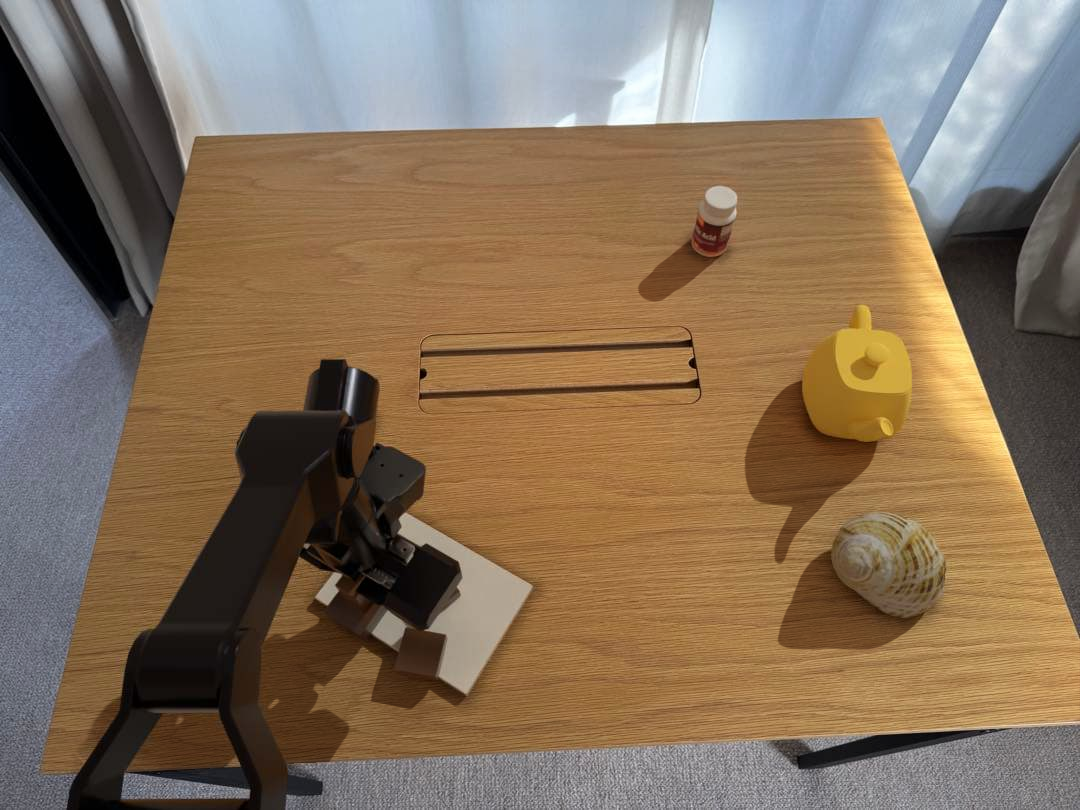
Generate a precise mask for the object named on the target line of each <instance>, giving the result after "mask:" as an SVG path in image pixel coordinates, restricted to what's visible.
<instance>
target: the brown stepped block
mask: <svg viewBox="0 0 1080 810" xmlns="http://www.w3.org/2000/svg"><path fill="white" fill-rule="evenodd" d="M396 535H398V536H400V537H402V538H403V539H405V540H407V541H409V542H410V543H412V544H414V545H415V546H417V547H418V548H419V547H421V546H419V545H417V544H415V543H414V542H412V541H410V540H409V539H407V538H405V537H403V536H402V535H400V534H398V533H397V534H396ZM388 537H390V536H388ZM365 577H366V576H365V575H363V574H362V573H361V574H360V576H359V577H358V578H357V580H356V581H355V582H353V581H351V580H350V579H348V578H346V577H345V576H343V575H342V576H341V578H340V579H339V580H338V582H337V583H336V584H335V586H336V588H337V589H338V593H337V594H336V595H335V597H334V598H333V599H332V601H331V602H330V603H329V605H328V606H327V607H326V606H325V609H324V610H323V611H322V613H323V614H324V615H325V617H326V618H328V620H330V622H331V623H332V624H334V625H335V626H337V627H338V628H340V629H342V630H343V631H345V632H346V633H348V634H349V635H351V636H353V637H354V638H356V639H357V640H358V641H360V642H361V643H363V644H365V643H366V642H367V641H368V639H370V637H371V636H372V635H371V633H372V632H373V630H374V629H375V628H376V626H377V625H378V623H379V622H380V621H381V619H382V618H383V616H384V615H385V613H386V612H387V611H388V610H387V609H386V608H385V607H384V605H383V606H379V605H376V604H375V603H373V602H372V601H370V600H368V599H367V598H365V597H364V596H362V595H360V594H359V593H357V592H356V591H355V590H356V589H357V588H358V586H359V585H360V583H361V582H362V581H363V579H364V578H365Z"/></svg>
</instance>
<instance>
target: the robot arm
mask: <svg viewBox="0 0 1080 810" xmlns="http://www.w3.org/2000/svg"><path fill="white" fill-rule="evenodd" d="M380 385H381V383H380V381H379V379H378V378H376V377H374V376H373V375H372V374H370V373H369V372H367V371H364V370H363V369H361V368H357V367H353V366H350V365H349V364H348V362H347V358H321V359H320V361H319V367H318V368H317V369H315V370H314V371H312V372H311V373H310V375H309V376H308V381H307V385H306V392H305V398H304V402H303V409H301V410H299V409H298V410H296V409H295V410H258V411H256V412H255V413H254V414H253V415H252V416H251V417H250V419H249V421H248V422H247V424H246V426H245V427H244V428H243V429H242V431H241V433H240V434H239V438H238V439H237V441H236V445H235V450H234V457H235V460H236V465H237V468H238V473H239V477H240V481H239V483H238V486H237V488H236V490H235V492H234V493H233V496H232V497H231V499H230V501H229V503H228V504H227V506H226V508H225V509H224V511H223V513H222V514H221V516H220V517H219V519H218V521H217V523H216V524H215V526H214V528H213V529H212V532H210V535H209V536H208V538H207V540H206V541H205V543H204V545H203V546H202V548H201V550H200V551H199V553H198V555H197V556H196V558H195V560H194V561H193V563H192V565H191V567H190V569H188V572H187V573H186V576H185V577H184V579H183V580H182V582H181V584H180V585H179V588H178V589H177V590H176V593H175V594H174V596H173V597H172V599H171V601H170V603H169V604H168V606H167V608H166V610H165V611H164V613H163V614H162V616H161V618H160V620H159V621H158V623H157V625H155V627H154V628H147V629H145V630H142V631H141V632H140V633H139V634H138V636H137V637H136V638H135V639H134V640H133V642H132V645H131V647H130V649H129V652H128V653H127V657H126V662H125V667H124V672H123V678H122V679H123V680H122V685H121V695H120V703H119V710H118V713H117V714H116V716H115V717H114V718H113V720H112V722H111V723H110V724H109V726H108V728H107V729H106V731H104V733H103V735H102V737H101V738H100V739H99V740H98V743H96V746H95V747H94V749H93V750H92V752H91V753H90V755H89V756H88V757H87V759H86V760H85V762H84V763H83V765H82V767H81V768H80V769H79V771H78V772H77V773H76V775H75V777H74V779H73V780H72V783H71V784H70V788H69V789H68V795H67V804H66V809H65V810H286V809H287V795H288V780H289V771H288V766H287V765H288V764H287V762H286V759H285V758H284V755H283V753H282V752H281V749H280V746H279V745H278V742H277V741H276V738H275V736H274V734H273V732H272V729H271V727H270V725H269V723H268V721H267V718H266V717H265V714H264V712H263V710H262V708H261V705H260V702H259V699H260V689H261V688H260V687H261V676H262V664H263V662H262V661H263V660H262V659H263V648H262V647H263V645H264V644H265V640H266V638H267V636H268V633H269V630H270V628H271V626H272V624H273V622H274V619H275V616H276V614H277V611H278V609H279V607H280V605H281V602H282V600H283V597H284V595H285V592H286V590H287V587H288V585H289V583H290V580H291V578H292V575H293V572H294V570H295V568H296V566H297V563H298V561H299V558H301V559H302V560H304V561H305V562H306V563H309V564H310V565H312V566H313V567H315V568H317V569H318V570H320V571H325V572H331V573H334V572H336V573H340V574H342V575H343V576H345V577H346V578H348V579H350V580H351V581H353V582H355V581H356V580H357V578H358V577H359V576H360V574H361V573H362V574H363V575H365V576H366V577H365V578H364V579H363V581H362V582H361V583H360V585H359V586H358V588H357V589H356V590H355V591H356V592H357V593H359V594H360V595H362V596H364V597H365V598H367V599H368V600H370V601H372V602H373V603H375V604H376V605H379V606H383V605H384V607H385V608H386V609H387V610H388V611H389V612H391V613H392V614H393V615H394V616H396V617H397V618H399V619H401V620H402V621H404V622H405V623H407V624H409V625H410V626H412V627H414V628H415V629H417V630H418V631H423V630H426V629H429V628H430V627H431V625H432V624H433V622H434V621H435V619H436V618H437V616H438V614H439V613H440V611H441V610H442V608H443V607H444V605H445V604H446V602H447V601H448V599H449V598H450V596H451V595H452V593H453V592H454V590H455V589H456V587H457V586H458V584H459V583H460V581H461V580H462V578H463V577H462V573H461V568H460V564H459V562H458V561H456V560H455V559H453V558H451V557H450V556H448V555H446V554H444V553H443V552H441V551H439V550H437V549H436V548H434V547H432V546H431V545H429V544H427V543H426V544H424V545H423V546H421V547H419V548H418V547H417V546H415V545H414V544H412V543H410V542H409V541H407V540H405V539H403V538H402V537H400V536H398V535H396V534H397V533H398V531H399V530H400V529H401V527H402V526H401V523H400V521H399V518H400V517H401V516H402V515H403V514H404V513H407V511H408V510H410V509H411V507H412V506H413V505H414V504H415V503H417V501H419V500H420V499H422V498H423V496H424V491H425V481H426V472H427V467H426V465H425V464H424V463H423V462H421V461H420V460H417V459H416V458H414V457H412V456H411V455H409V454H407V453H405V452H403V451H401V450H400V449H398V448H396V447H393V446H385V445H383V444H381V443H379V442H376V443H375V437H376V429H377V428H376V427H377V413H378V405H379V398H380V397H379V396H380V389H381V387H380ZM388 536H390V537H388ZM187 713H188V714H195V713H196V714H197V713H198V714H199V713H202V714H203V713H207V714H208V713H218V716H219V720H220V722H221V724H222V727H223V729H224V731H225V733H226V735H227V738H228V740H229V743H230V745H231V747H232V750H233V751H234V755H235V756H236V758H237V761H238V763H239V765H240V767H241V770H242V772H243V774H244V777H245V778H246V782H247V783H248V786H249V797H231V798H230V797H224V798H223V797H222V798H221V797H220V798H216V797H215V798H213V797H212V798H210V797H209V798H208V797H207V798H122V796H123V795H122V794H123V788H124V787H123V786H124V779H125V773H126V772H127V770H128V768H129V767H130V766H131V764H132V762H133V760H134V759H135V757H136V756H137V754H138V753H139V751H140V750H141V748H142V747H143V745H144V744H145V742H146V740H147V739H148V738H149V736H150V734H151V733H152V731H153V730H154V728H155V727H156V725H157V724H158V722H159V721H160V719H161V717H162V716H163V715H164V714H187Z"/></svg>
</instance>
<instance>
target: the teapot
mask: <svg viewBox="0 0 1080 810" xmlns="http://www.w3.org/2000/svg"><path fill="white" fill-rule="evenodd" d="M802 373H803V374H802V383H801V392H802V397H803V403H804V405H805V408H806V411H807V414H808V416H809V419H810V421H811V423H812V425H813V427H814V428H815V429H817V431H818V432H820V433H821V434H823V435H826V436H829V437H833V438H839V439H845V440H846V439H847V440H848V439H849V440H856V441H859V442H863V443H864V442H865V443H867V442H870V443H871V442H876V441H879V440H885V439H889V438H892V437H893V436H895V435H896V434H897V433H898V432H900V430H901V429H902V427H903V425H904V424H905V422H906V419H907V417H908V413H909V410H910V407H911V400H912V389H913V372H912V364H911V359H910V356H909V353H908V350H907V348H906V345H905V343H904V342H903V340H902V339H901V337H899V336H898V335H897V334H896V333H893V332H889V331H886V330H879V329H872V314H871V310H870V308H869V307H868V306H867V305H866V304H859V305H857V306H855V307H854V309H853V311H852V314H851V317H850V320H849V323H848V328H842V329H840V330H837V331H836V332H834V333H832V334H830V335H829V336H827V337H826V338H824V339H823V340H822V341H821V342H820V343H819V344H817V346H816V347H815V348H814V349H813V350H812V352H811V353H810V355H809V356H808V358H807V360H806V363H805V365H804V369H803V372H802Z"/></svg>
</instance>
